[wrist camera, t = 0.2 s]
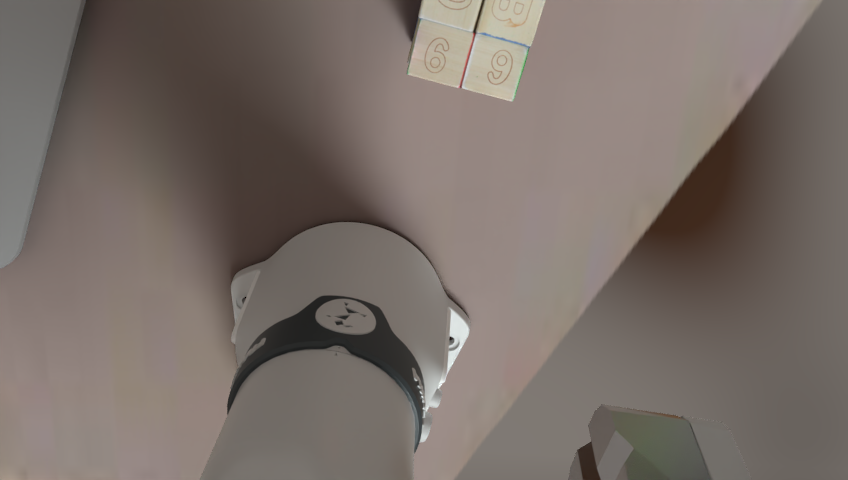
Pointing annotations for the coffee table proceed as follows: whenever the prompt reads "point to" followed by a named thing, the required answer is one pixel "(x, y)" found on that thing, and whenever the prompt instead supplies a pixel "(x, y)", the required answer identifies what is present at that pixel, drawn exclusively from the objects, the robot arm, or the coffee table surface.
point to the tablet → (29, 103)
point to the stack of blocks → (474, 43)
